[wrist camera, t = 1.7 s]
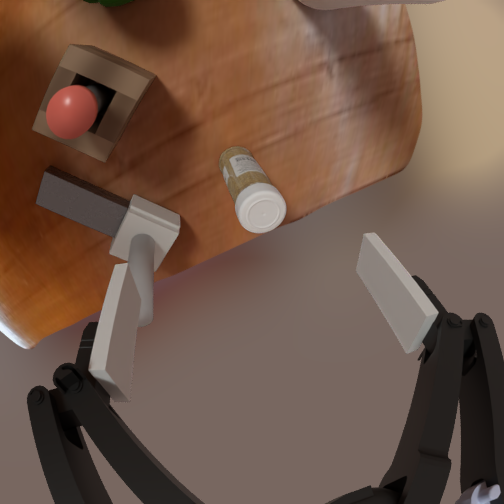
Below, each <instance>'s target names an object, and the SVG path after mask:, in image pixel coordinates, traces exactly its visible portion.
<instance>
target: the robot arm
mask: <svg viewBox="0 0 504 504" xmlns="http://www.w3.org/2000/svg"><path fill="white" fill-rule="evenodd" d="M356 272H357V274H358V275H359V276H360V278H361V280H362V281H363V283H364V284H365V286H366V288H367V289H368V291H369V292H370V294H371V295H372V297H373V299H374V300H375V302H376V303H377V305H378V306H379V308H380V310H381V311H382V313H383V315H384V316H385V318H386V320H387V321H388V323H389V324H390V326H391V328H392V330H393V331H394V333H395V335H396V337H397V338H398V340H399V342H400V344H401V345H402V347H403V349H404V350H405V352H406V354H407V353H409V352H412V351H415V350H418V349H419V347H420V345H421V343H422V342H423V344H424V345H425V348H424V350H423V351H422V353H421V354H420V356H419V358H418V360H420V359H421V357H422V360H421V365H420V370H419V375H418V379H417V383H416V387H415V391H414V395H413V399H412V403H411V407H410V410H409V414H408V417H407V421H406V424H405V427H404V430H403V434H402V437H401V440H400V443H399V446H398V449H397V451H396V455H395V457H394V460H393V462H392V465H391V467H390V468H389V470H388V471H387V473H386V474H385V475H384V477H383V479H382V481H381V483H380V485H379V487H378V488H371V486H367V487H365V488H362V489H360V490H357V491H354V492H351V493H348V494H345V495H343V496H341V497H338V498H336V499H333V500H332V501H329V502H328V503H326V504H440V501H441V498H442V495H443V492H444V489H445V486H446V483H447V480H448V476H449V473H450V469H451V460H450V459H449V458H448V451H449V447H450V443H451V438H452V433H453V429H454V424H455V419H456V413H457V406H458V400H459V403H460V419H461V468H460V483H461V493H462V495H461V496H460V498H459V499H458V500H457V501H456V503H455V504H504V360H503V356H502V352H501V348H500V344H499V341H498V337H497V334H496V330H495V327H494V324H493V321H492V319H491V318H490V317H489V316H488V315H486V314H484V313H477V314H476V315H475V317H474V318H473V320H462V319H461V318H460V317H459V316H458V315H456V314H454V313H448V312H447V311H446V310H445V308H444V307H443V305H442V304H441V303H440V301H439V300H438V299H437V298H436V296H435V295H434V294H433V293H432V291H431V290H430V289H429V288H428V286H427V285H426V284H425V282H424V281H423V280H422V279H420V278H419V277H417V276H411V275H410V274H409V273H408V272H407V270H406V269H405V268H404V267H403V266H402V264H401V263H400V262H399V261H398V260H397V258H396V257H395V256H394V254H393V253H392V252H391V251H390V250H389V249H388V247H387V246H386V245H385V244H384V243H383V242H382V241H381V239H380V238H379V237H378V236H377V235H376V234H375V233H367V234H364V235H363V240H362V245H361V249H360V254H359V259H358V263H357V268H356ZM141 301H142V300H141V297H140V295H139V292H138V289H137V287H136V284H135V281H134V278H133V276H132V273H131V270H130V267H129V264H128V263H124V264H116V265H115V267H114V270H113V273H112V276H111V280H110V283H109V286H108V290H107V293H106V297H105V300H104V304H103V308H102V312H101V315H100V319H99V322H90V323H89V324H88V325H87V326H86V328H85V329H84V331H83V335H82V339H81V343H80V348H79V350H78V354H77V358H76V363H75V364H72V363H64V364H62V365H60V366H59V367H58V368H57V369H56V371H55V372H54V375H53V382H54V385H55V386H56V387H57V388H56V389H53V390H49V391H48V390H47V389H46V388H45V387H44V386H36V387H34V388H33V389H31V391H30V392H29V394H28V397H27V404H28V411H29V416H30V421H31V426H32V430H33V435H34V439H35V443H36V447H37V450H38V454H39V458H40V462H41V465H42V468H43V471H44V475H45V478H46V480H47V484H48V486H49V489H50V492H51V495H52V497H53V500H54V502H55V504H113V503H112V501H111V499H110V497H109V495H108V493H107V491H106V489H105V487H104V485H103V483H102V481H101V479H100V476H99V474H98V472H97V470H96V467H95V465H94V463H93V460H92V458H91V455H90V453H89V450H88V448H87V445H86V442H85V440H84V437H83V434H82V432H81V429H80V426H82V425H83V427H84V428H85V430H86V432H87V433H88V435H89V436H90V437H91V439H92V440H93V442H94V443H95V445H96V446H97V448H98V449H99V450H100V452H101V453H102V454H103V456H104V457H105V458H106V460H107V461H108V462H109V464H110V465H111V466H112V468H113V469H114V470H115V471H116V473H117V474H118V475H119V476H120V477H121V479H122V480H123V481H124V482H125V483H126V485H127V486H128V487H129V488H130V489H131V490H132V491H133V493H134V494H135V495H136V496H137V497H138V498H139V499H140V500H141V501H142V502H143V503H144V504H204V503H203V502H202V501H201V500H200V499H198V498H197V497H196V496H195V495H194V494H193V493H191V492H190V491H189V490H188V489H187V488H186V487H185V486H184V485H183V484H181V483H180V482H179V481H178V480H177V479H176V478H175V477H174V476H173V475H172V474H171V473H170V472H169V471H168V470H166V468H164V466H163V465H162V464H161V463H160V462H159V461H158V460H157V459H156V458H155V457H154V456H153V455H152V454H151V453H150V452H149V451H148V450H147V448H146V447H145V446H144V445H143V444H142V443H141V442H140V441H139V440H138V438H137V437H136V436H135V435H134V434H133V433H132V431H131V430H130V429H129V428H128V426H127V425H126V424H125V423H124V422H123V420H122V419H121V418H120V417H119V415H118V414H117V413H116V412H115V410H114V409H113V408H112V407H111V405H110V404H109V403H110V397H111V398H112V399H113V400H114V401H115V402H130V399H131V384H132V373H133V362H134V353H135V344H136V336H137V328H138V321H139V314H140V307H141ZM476 353H477V354H476Z"/></svg>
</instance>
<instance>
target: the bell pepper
mask: <svg viewBox="0 0 504 504" xmlns="http://www.w3.org/2000/svg"><path fill="white" fill-rule="evenodd" d="M84 1H86V2H88V3H98V2H99V3H100V4H101V5H103V6H105V7H111V6H121V5H123V4H126V3H129V2H131V1H134V0H84Z"/></svg>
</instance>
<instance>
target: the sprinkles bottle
mask: <svg viewBox="0 0 504 504" xmlns="http://www.w3.org/2000/svg"><path fill="white" fill-rule="evenodd" d="M219 168H220V171H221V172H222V174H223V177H224V180H225V182H226V185H227V187H228V189H229V192H230V194H231V196H232V198H233V201H234V203H235V211H236V214H237V217H238V219H239V221H240V223H241V225H242V226H243V227H244V228H245V229H246V230H248V231H250V232H253V233H266V232H269V231H271V230H273V229H275V228H276V227H277V226H279V225H280V224H281V222H282V221H283V219H284V217H285V215H286V203H285V201H284V199H283V197H282V195H281V194H280V192H279V191H278V190H277V189H276V188H275V187H274V186H273V185H272V184H271V182H270V180H269V179H268V177H267V176H266V174H265V173H264V171H263V170H262V168H261V167H260V166H259V164H258V163H257V162H256V160H255V159H254V158H253V156H252V154H251V153H250V151H249V150H247V149H246V148H243V147H239V146H236V147H231V148H229V149H227V150H226V151H224V152H223V153H222V155H221V157H220V159H219Z"/></svg>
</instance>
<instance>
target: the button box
mask: <svg viewBox="0 0 504 504" xmlns="http://www.w3.org/2000/svg"><path fill="white" fill-rule="evenodd" d="M155 77H156V75H155V74H153V73H151V72H149V71H147V70H145V69H143V68H141V67H139V66H137V65H135V64H133V63H131V62H128V61H126V60H124V59H122V58H120V57H118V56H115V55H113V54H111V53H109V52H106V51H104V50H102V49H99V48H97V47H95V46H90V45H75V44H70V45H69V46H68V48H67V50H66V52H65V54H64V56H63V58H62V60H61V62H60V63H59V65H58V68H57V70H56V72H55V74H54V76H53V78H52V80H51V82H50V85H49V87H48V89H47V91H46V94H45V96H44V98H43V101H42V103H41V106H40V108H39V111H38V114H37V116H36V119H35V122H34V125H33V127H32V130H33V131H36V132H38V133H40V134H42V135H45V136H47V137H49V138H51V139H54V140H56V141H58V142H60V143H63V144H65V145H67V146H69V147H71V148H74V149H76V150H78V151H80V152H82V153H85V154H87V155H89V156H91V157H93V158H96V159H98V160H100V161H102V162H104V163H105V162H106V160H107V159H108V157H109V155H110V154H111V152H112V150H113V149H114V147H115V146H116V144H117V142H118V141H119V139H120V137H121V135H122V133H123V131H124V130H125V128H126V126H127V124H128V122H129V120H130V119H131V117H132V115H133V113H134V111H135V110H136V108H137V106H138V104H139V103H140V101H141V99H142V98H143V96H144V94H145V93H146V91H147V90H148V88H149V86H150V85H151V83H152V82H153V80H154V78H155ZM95 83H99V84H102V85H104V86H105V87H106V88H107V89H108V91H109V95H110V97H109V102H108V104H107V106H106V107H105V108H104V109H103V110H102V111H100V112H99V113H98V114H97V117H96V120H95V122H94V123H93V125H92V126H91V127H90V128H89V129H88V130H87V131H86V132H85V133H84V134H82V135H81V136H79V137H77V138H74V139H63V138H60V137H58V136H56V135H55V134H54V133H53V132H52V131H51V130H50V128H49V126H48V124H47V119H46V111H47V106H48V104H49V102H50V100H51V98H52V97H53V96H54V95H55V94H56V93H57V92H58V91H59V90H61V89H63V88H65V87H68V86H72V85H82V86H85V87H86V86H89V85H91V84H95Z"/></svg>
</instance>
